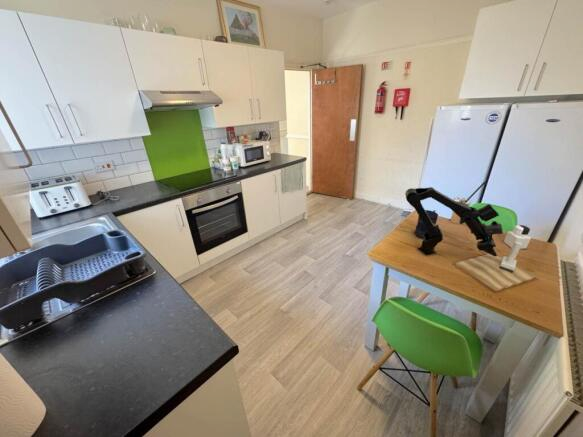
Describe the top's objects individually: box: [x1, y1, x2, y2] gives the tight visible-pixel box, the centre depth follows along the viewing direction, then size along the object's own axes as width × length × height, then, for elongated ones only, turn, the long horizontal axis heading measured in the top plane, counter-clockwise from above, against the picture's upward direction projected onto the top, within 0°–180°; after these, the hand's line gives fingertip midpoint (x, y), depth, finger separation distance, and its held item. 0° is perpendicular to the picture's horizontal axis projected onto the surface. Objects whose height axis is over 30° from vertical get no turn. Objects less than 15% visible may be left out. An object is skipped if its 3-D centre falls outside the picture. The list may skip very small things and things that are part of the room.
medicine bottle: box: [503, 224, 532, 250], centre depth 132 cm, size 7×7×12 cm
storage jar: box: [414, 209, 439, 240], centre depth 143 cm, size 10×10×18 cm
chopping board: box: [454, 253, 538, 293], centre depth 116 cm, size 26×20×1 cm
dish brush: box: [499, 242, 522, 273], centre depth 113 cm, size 8×5×14 cm, turn 135°
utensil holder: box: [449, 181, 486, 224], centre depth 153 cm, size 11×11×30 cm
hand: (495, 251), depth 117 cm, fingers open, 9 cm apart
